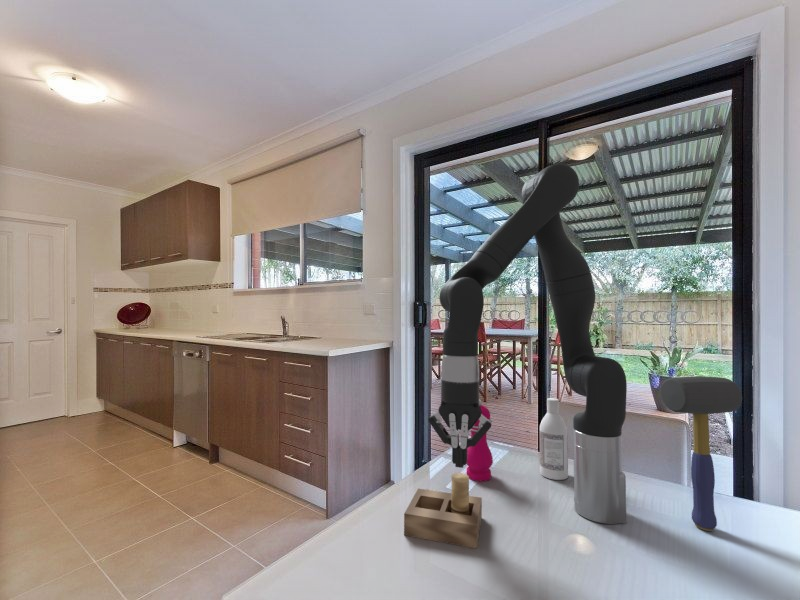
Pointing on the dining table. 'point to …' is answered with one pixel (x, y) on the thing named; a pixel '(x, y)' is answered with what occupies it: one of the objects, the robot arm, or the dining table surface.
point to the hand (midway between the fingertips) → (459, 465)
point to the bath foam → (553, 443)
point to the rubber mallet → (701, 432)
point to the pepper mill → (479, 453)
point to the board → (442, 519)
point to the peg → (460, 494)
